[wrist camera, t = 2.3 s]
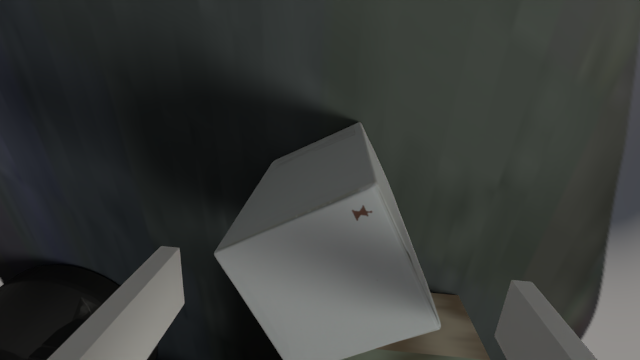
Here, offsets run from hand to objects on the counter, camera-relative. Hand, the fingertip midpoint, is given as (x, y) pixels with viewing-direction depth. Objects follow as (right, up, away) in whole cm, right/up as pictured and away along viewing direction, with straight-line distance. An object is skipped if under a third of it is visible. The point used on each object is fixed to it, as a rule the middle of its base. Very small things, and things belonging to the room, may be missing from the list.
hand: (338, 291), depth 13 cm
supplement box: (0, +4, +12) cm, 13 cm away
